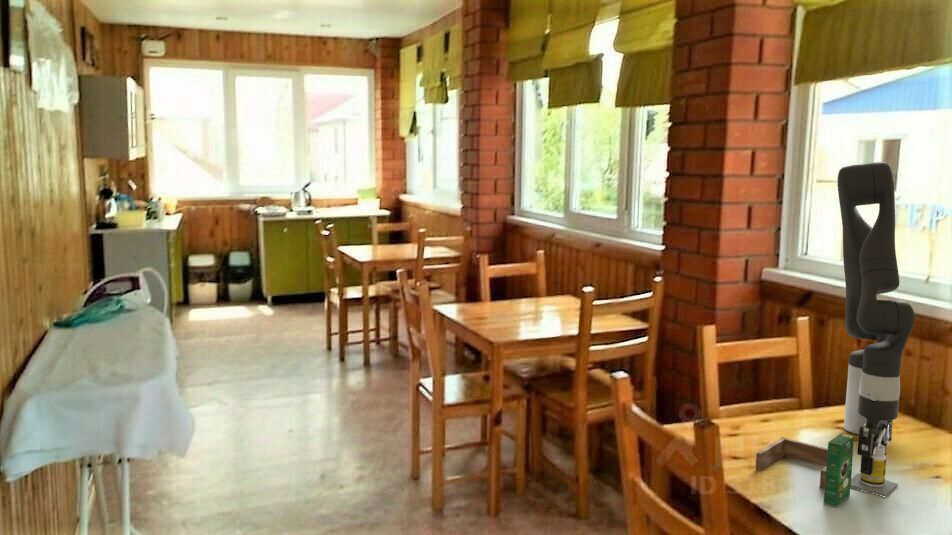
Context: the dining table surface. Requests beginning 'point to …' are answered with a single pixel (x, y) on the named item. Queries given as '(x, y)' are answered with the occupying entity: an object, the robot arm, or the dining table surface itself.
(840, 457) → the coffee box
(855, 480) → the grey mat
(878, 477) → the supplement bottle
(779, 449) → the open box
